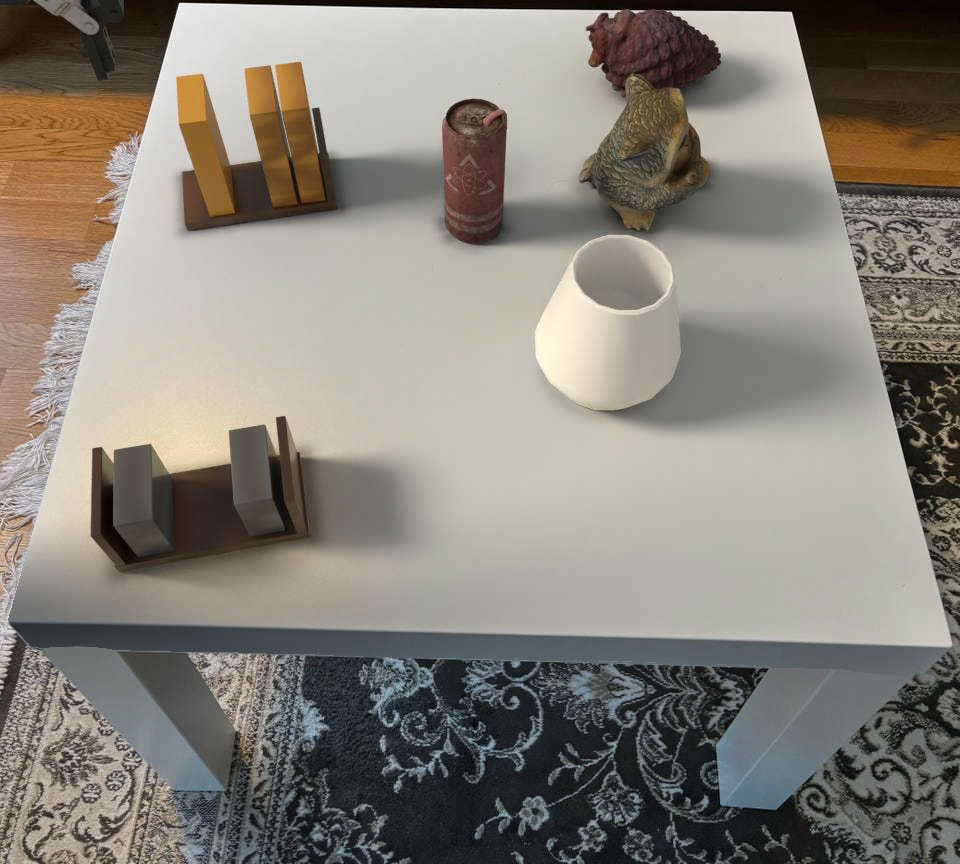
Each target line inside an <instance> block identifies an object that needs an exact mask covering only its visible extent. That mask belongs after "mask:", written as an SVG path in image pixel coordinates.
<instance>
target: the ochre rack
mask: <svg viewBox="0 0 960 864" xmlns="http://www.w3.org/2000/svg"><path fill="white" fill-rule="evenodd" d="M274 69H275V76H276V83H275V79H274V78H275V77H274V74H273V69H272V65H271V64H270V65H262V66H261V65H259V66H252V67H244V69H243V70H244V71H243V72H244V78H245V79H244V80H245V89H246V97H247V106H248V114H249V119H250V122H251V127H252V131H253V135H254V139H255V143H256V146H257V150H258V155H259V158H260V160H259V161H251V162H243V163H235V164H230V166H231V172H232V183H233V194H234V204H235V213H234V214H227V215H220V216H213V217H210V214H209V211H208V208H207V205H206V202H205V199H204V196H203V194H202V191H201V188H200V185H199V182H198V179H197V176H196V173H195V170H194V169H192V170H185V171H181V179H182V180H181V181H182V199H183V200H182V202H183V221H184V223H183V224H184V226H185V229H186V231H193V230H194V231H195V230H199V229H200V230H201V229H208V228H216V227H221V226H228V225H236V224H242V223H244V224H245V223H249V222H256V221H265V220H273V219H279V218H285V217H293V216H299V215H306V214H307V215H308V214H313V213H320V212H329V211H335V210H338V209H339V206H338V201H337V195H336V190H335V184H334V183H335V182H334V178H333V172H332V167H331V161H330V155H329V152H328V148H327V144H326V143H327V142H326V138H325V137H326V136H325V131H324V125H323V119H322V114H321V109H320V107H312V108H311V107H310V101H309V96H308V91H307V85H306V80H305V74H304V69H303V64H302V62H301V61H295V62H286V63H279V64H274ZM276 84H277V86H276ZM277 91H278V92H277ZM311 112H312V114H311ZM312 117H313V119H312ZM313 123H314V124H313Z"/></svg>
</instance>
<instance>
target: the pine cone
mask: <svg viewBox="0 0 960 864" xmlns="http://www.w3.org/2000/svg"><path fill="white" fill-rule="evenodd" d="M609 16H610V14H609V13H608V12H601V13H599V15H598V16H597V18H596V19H595V20H594V22H593V23H592V24H589V25H587V26H585V31H586V32H589V35H588V41H589V42H590V43H591V44H590V45H591V48H592V50H591V54H590V56H589V58H588V61H587V64H588V65H589V67H592V68H598V67H600V66H601V67H600V69H601V71H602V73H604V74H605V79H606V80H607V81H608V82H609V83H611V89H612V90H613V91H615V92H620V96H621V97H622V98H623V99H624V98H625V99H627V97H626V91H625V86H626V81H627V79H628V77H629V76H630V75H631V74H639V75H641V76H642V77H644V78H645V79H647V80H648V81H649V82H650V83H651V84H652V86H653V87H654V88H655V89H662V88H677V89H680V90H681V88H683V87H684V86H691V85H692V84H696V82H697V80H700V79H703V78H704V77H707V76H710V75H711V73H712V72H715V70H717V69H718V67H719V66H720V65H721V64H722V60H721V58H722V53H721V52H719V51H720V49H719V46H716V45H717V43H716V41H715V40H714V39H710V37H709V35H707V34H706V33H704V34H703V33H702V32H701V31H700V29H696V27H695V26H692V25H690V24H689V22H688V21H687V20H686V19H682V17H681V16H678V15H674V14H673V13H672V11H667V10H665V9H659V10H657V9H655V8H652V9H645V10H644V11H638V12H636V13H635V12H633V11H632V10H631V9H630V8H625V9H622V10H620V11H617V12H616V13H615V14H614V16H613V17H609Z"/></svg>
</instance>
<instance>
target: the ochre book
mask: <svg viewBox="0 0 960 864" xmlns="http://www.w3.org/2000/svg"><path fill="white" fill-rule="evenodd" d="M175 81H176V83H175V85H176V101H177V102H176V103H177V120H178V121H177V122H178V126H179V129H180V132H181V136H182V138H183V142H184V144H185V147H186V150H187V152H188V155H189V158H190V162H191V164H192V167H193V170H195V173H196V176H197V179H198V182H199V185H200V188H201V191H202V194H203V196H204V199H205V202H206V205H207V208H208V211H209V214H210V217H213V216H220V215H227V214H234V213H235V204H234V194H233V183H232V172H231V166H230V165H231V163H230V160H229V156H228V153H227V150H226V146H225V143H224V139H223V136H222V133H221V132H222V131H221V129H220V126H219V123H218V118H217V116H216V112H215V110H214V106H213V102H212V99H211V96H210V92H209V88H208V85H207V82H206V80H205V75H204V73H195V74H187V75H179V76H176V77H175Z"/></svg>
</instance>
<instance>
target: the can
mask: <svg viewBox="0 0 960 864" xmlns="http://www.w3.org/2000/svg"><path fill="white" fill-rule="evenodd" d="M507 133H508V113H507V112H506V110H504V109H502V108H500V107H499V106H498V105H497V104H495V103H493V102H492V101H490V100H487V99H483V98H467V99H462V100H460V101H457V102H455V103H453V104H452V105H451V106H450V107H449V108H448V109H447V111H446V112H445V116H444V118H443V119H442V125H441V141H442V142H441V143H442V145H441V146H442V169H443V172H442V173H443V175H442V176H443V177H442V178H443V197H444V198H443V202H444V203H443V205H444V207H443V208H444V224H445V228H446V229H447V231H448V232H449V233H450V235H451V236H452V237H454V238H455V239H457V240H458V241H460V242H463V243H465V244H473V245H475V244H476V245H477V244H482V243H483V244H484V243H485V242H488V241H490V240H491V239H493V238H494V237H495V236H496V235H498V233H499V232H500V230H501V229H502V227H503V220H504V200H505V199H504V198H505V178H506V177H505V176H506V175H505V174H506V158H507V157H506V156H507V155H506V152H507Z"/></svg>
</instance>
